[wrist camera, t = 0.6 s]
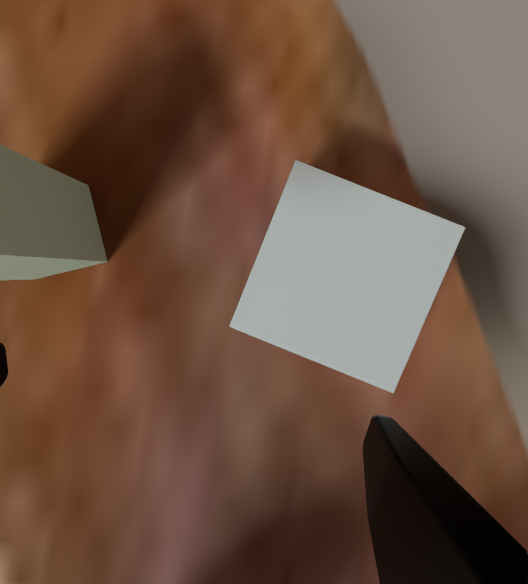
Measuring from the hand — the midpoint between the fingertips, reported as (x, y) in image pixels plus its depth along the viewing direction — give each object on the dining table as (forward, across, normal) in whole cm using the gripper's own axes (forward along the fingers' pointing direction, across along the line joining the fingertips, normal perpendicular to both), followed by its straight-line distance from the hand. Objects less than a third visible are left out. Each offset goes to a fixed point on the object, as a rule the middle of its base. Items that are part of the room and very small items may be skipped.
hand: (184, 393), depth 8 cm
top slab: (+13, -5, 0) cm, 14 cm away
